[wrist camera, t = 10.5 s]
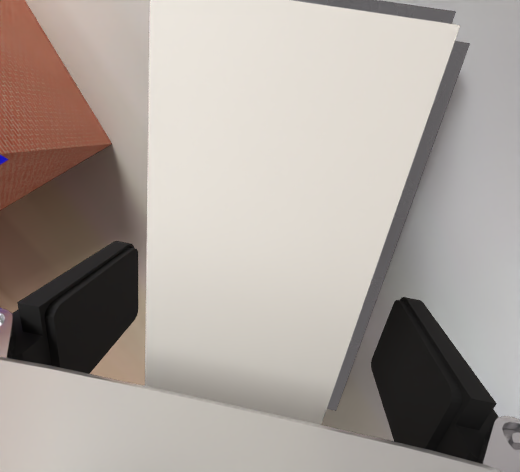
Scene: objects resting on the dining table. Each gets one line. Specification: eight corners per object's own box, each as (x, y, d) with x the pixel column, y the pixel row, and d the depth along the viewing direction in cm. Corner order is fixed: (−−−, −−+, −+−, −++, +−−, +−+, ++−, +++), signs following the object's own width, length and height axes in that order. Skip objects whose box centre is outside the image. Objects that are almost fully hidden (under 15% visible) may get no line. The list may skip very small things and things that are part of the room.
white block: (250, 81, 12) (150, -21, 4) (344, 97, 12) (460, 24, 4) (215, 353, 18) (143, 557, 9) (279, 366, 17) (264, 588, 9)
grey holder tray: (177, 11, 13) (129, -36, 9) (449, 52, 12) (517, 20, 8) (163, 354, 20) (133, 405, 16) (333, 390, 20) (341, 452, 16)
